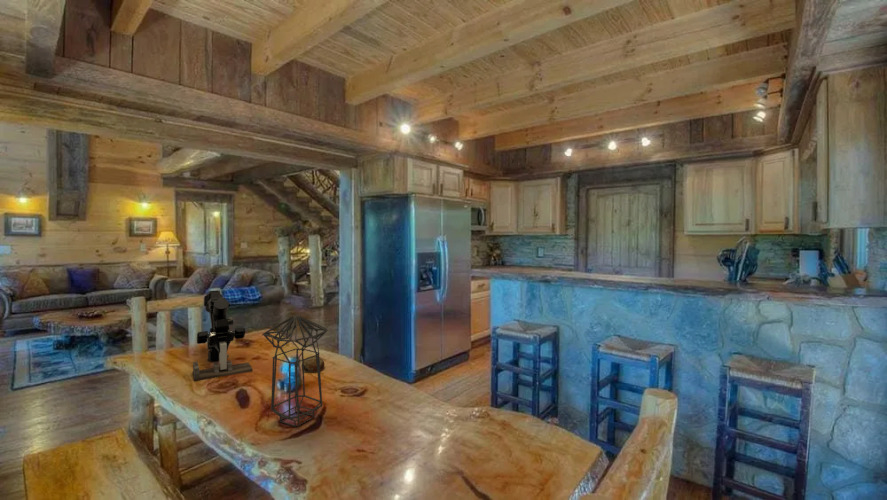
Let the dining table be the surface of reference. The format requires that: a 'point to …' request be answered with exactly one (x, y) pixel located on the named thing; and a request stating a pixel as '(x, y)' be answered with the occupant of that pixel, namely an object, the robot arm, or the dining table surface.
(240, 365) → the stand
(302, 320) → the geometric lantern
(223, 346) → the rectangular block
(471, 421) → the dining table surface
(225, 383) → the dining table surface
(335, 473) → the dining table surface
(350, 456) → the dining table surface
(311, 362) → the brown rough lump
